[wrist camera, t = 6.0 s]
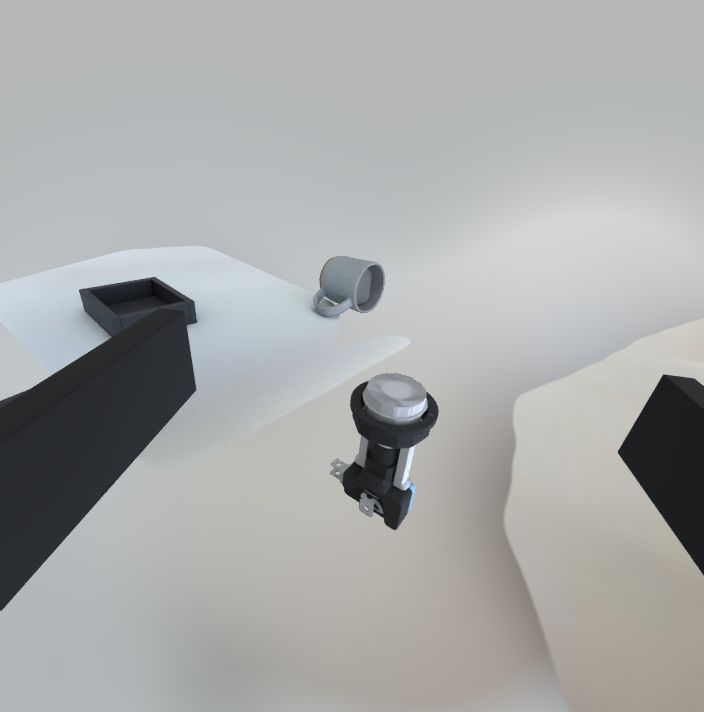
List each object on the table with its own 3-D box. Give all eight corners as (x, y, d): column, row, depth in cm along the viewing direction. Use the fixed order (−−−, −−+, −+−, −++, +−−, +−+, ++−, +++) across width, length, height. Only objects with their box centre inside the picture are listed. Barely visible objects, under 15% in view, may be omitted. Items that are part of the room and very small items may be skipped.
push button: (310, 496, 27) (316, 382, 22) (352, 455, 31) (365, 350, 26) (389, 550, 24) (417, 432, 19) (425, 497, 28) (455, 387, 23)
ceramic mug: (344, 292, 64) (347, 247, 60) (383, 306, 60) (388, 259, 56) (300, 308, 57) (300, 258, 53) (341, 325, 53) (344, 273, 49)
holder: (118, 343, 43) (112, 319, 42) (84, 310, 49) (78, 289, 48) (197, 322, 49) (194, 301, 48) (158, 296, 56) (154, 276, 54)
